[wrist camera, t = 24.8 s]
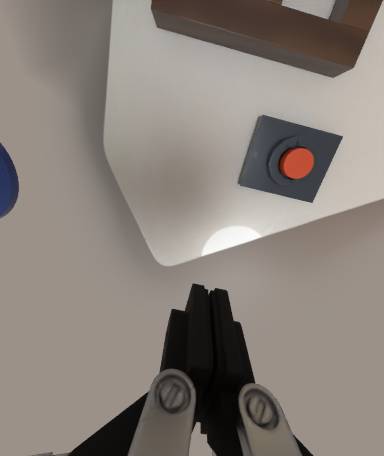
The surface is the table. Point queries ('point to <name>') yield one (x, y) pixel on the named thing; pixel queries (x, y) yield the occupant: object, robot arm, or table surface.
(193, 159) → the table surface
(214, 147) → the table surface
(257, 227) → the table surface
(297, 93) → the table surface
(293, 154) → the button
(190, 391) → the robot arm
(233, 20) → the dock
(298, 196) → the dark grey flat piece
